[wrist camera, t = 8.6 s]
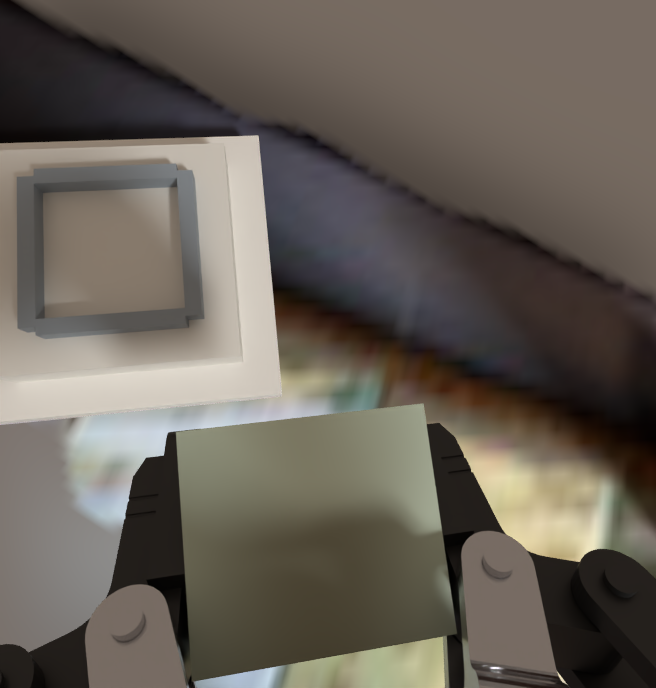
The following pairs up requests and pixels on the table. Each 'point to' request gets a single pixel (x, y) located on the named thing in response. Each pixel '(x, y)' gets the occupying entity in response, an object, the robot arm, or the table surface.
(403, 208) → the table surface
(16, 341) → the plinth
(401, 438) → the block
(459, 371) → the table surface
